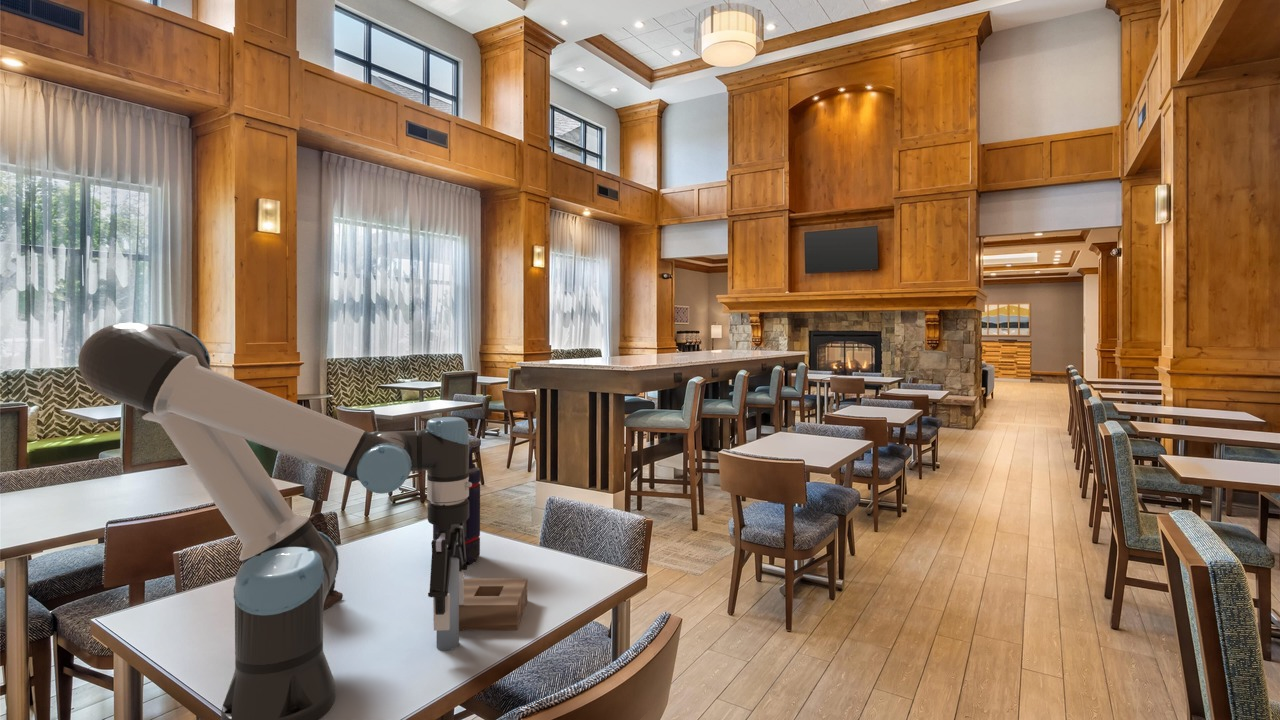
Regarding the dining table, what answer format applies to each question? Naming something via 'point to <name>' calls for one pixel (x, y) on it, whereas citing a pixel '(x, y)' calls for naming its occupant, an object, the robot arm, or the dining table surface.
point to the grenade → (471, 514)
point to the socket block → (493, 603)
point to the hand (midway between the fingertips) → (449, 616)
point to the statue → (322, 527)
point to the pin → (451, 611)
